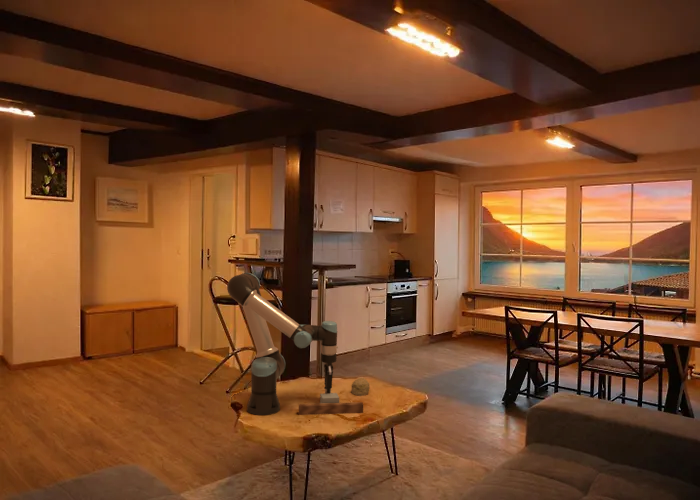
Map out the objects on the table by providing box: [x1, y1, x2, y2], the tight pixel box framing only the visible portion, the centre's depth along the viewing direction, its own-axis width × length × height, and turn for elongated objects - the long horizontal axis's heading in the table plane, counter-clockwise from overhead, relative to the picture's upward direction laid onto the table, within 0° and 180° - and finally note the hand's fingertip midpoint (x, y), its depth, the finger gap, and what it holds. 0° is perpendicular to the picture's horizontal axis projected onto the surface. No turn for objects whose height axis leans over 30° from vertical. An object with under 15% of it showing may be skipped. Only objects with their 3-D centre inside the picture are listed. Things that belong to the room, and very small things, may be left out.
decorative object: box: [350, 377, 370, 397], centre depth 278 cm, size 9×10×10 cm
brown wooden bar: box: [297, 401, 364, 416], centre depth 249 cm, size 30×3×4 cm, turn 100°
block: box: [319, 392, 340, 403], centre depth 255 cm, size 8×7×6 cm
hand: (327, 401), depth 261 cm, fingers closed
